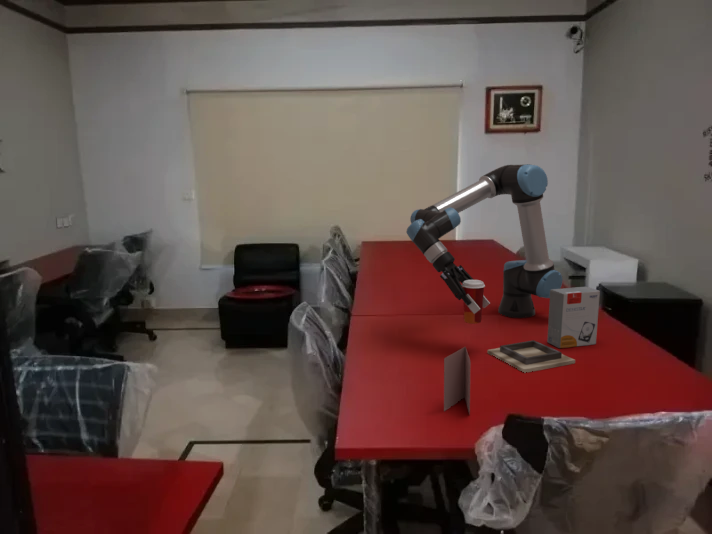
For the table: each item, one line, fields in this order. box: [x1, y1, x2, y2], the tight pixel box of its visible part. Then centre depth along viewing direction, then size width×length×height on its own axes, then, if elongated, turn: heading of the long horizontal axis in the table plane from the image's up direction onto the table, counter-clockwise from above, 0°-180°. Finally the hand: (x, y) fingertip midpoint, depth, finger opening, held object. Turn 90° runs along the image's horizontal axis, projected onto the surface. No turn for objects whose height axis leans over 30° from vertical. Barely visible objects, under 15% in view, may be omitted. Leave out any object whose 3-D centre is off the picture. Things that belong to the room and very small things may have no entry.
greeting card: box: [443, 346, 471, 416], centre depth 150 cm, size 11×7×15 cm, turn 141°
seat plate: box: [487, 339, 576, 374], centre depth 186 cm, size 20×20×3 cm
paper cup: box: [461, 279, 486, 325], centre depth 190 cm, size 8×8×14 cm
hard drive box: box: [546, 286, 601, 349], centre depth 198 cm, size 16×8×20 cm, turn 105°
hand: (482, 308), depth 189 cm, fingers closed on paper cup, 8 cm apart
